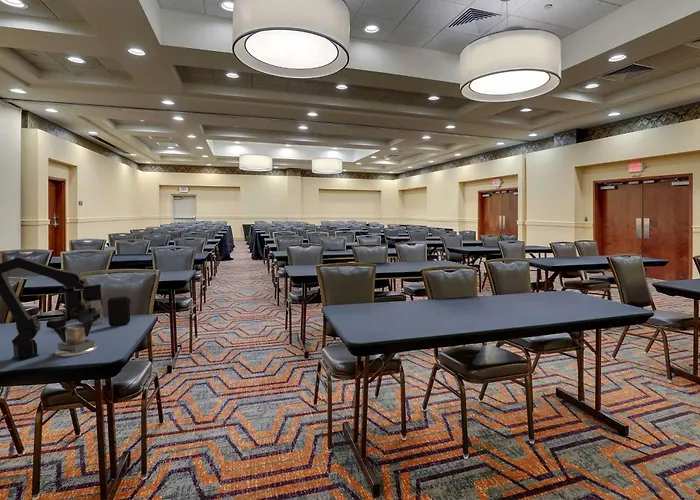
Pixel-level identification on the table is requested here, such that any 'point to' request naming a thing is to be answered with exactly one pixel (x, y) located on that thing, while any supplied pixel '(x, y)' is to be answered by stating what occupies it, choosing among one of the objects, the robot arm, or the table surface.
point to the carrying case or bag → (119, 310)
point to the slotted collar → (75, 348)
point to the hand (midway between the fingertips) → (75, 339)
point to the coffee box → (97, 306)
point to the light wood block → (75, 335)
